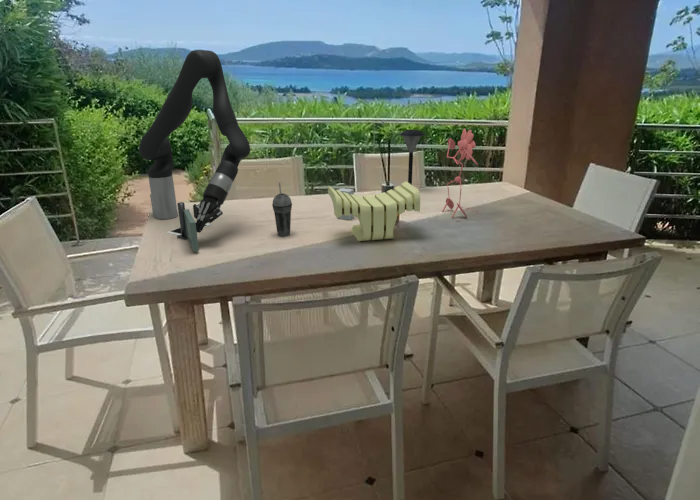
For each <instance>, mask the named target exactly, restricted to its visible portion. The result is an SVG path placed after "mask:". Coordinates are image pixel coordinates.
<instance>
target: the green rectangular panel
mask: <svg viewBox="0 0 700 500" xmlns="http://www.w3.org/2000/svg"><path fill="white" fill-rule="evenodd" d="M184 218H185V225H186V233H187V237H188V239H187V240H188V242H189V243H190V246H191V248H192V251H193V252H198V251H200V249H199V240H198V232H197V231H196V223H195V222H196V220H194V219H195V218H194V216H193V215H192V213H191V211H190V209H187V208H185V210H184Z"/></svg>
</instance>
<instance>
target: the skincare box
mask: <svg viewBox="0 0 700 500" xmlns="http://www.w3.org/2000/svg"><path fill="white" fill-rule="evenodd" d="M337 190H339V191H341V192H342V194H343V192H344V193H348V194H349V195H350V196H351V194H352V195H355V191H354V189H353V188H343V187H342V188H341V187H340V188H338V189H337ZM354 218H355V216H353V215H352V214H350V215H347V216H345V215H344V214H342V216H341V217H338V218H336V219H339V220H346V221H351V220H353V219H354Z"/></svg>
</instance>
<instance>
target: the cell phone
mask: <svg viewBox="0 0 700 500" xmlns="http://www.w3.org/2000/svg"><path fill="white" fill-rule="evenodd" d="M196 222H197V221H195V223H196ZM212 225H213V223H207V224H205V226H204V228H206V227H210V226H212ZM204 228H203V229H204ZM166 234H171V235H174V236H176V237H177V236H178V235H181V227H180V226H179V227H178V228H174V229H172V230H169V231H167V232H166Z"/></svg>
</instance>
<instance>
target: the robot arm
mask: <svg viewBox="0 0 700 500" xmlns="http://www.w3.org/2000/svg"><path fill="white" fill-rule="evenodd" d="M202 79H207V81H208V82H209V84H210V87H211V90H212V111H213V112H212V113H213V116H214V119H215V122H216V124H217V125H216V126H217V127H218V130H219V133H220V134H221V135H222V136H223V137H226V138H227V140H228V142H229V143H228V144H227V145H226V147H225V149H224V151H223V152H222V155H221V159H220V163H219V164H218V166H217V167H216V170H215V171H214V174H213V175H212V177H211V178H210V180H209V181H208V183H207V186H206V187H205V189H204V191H203V193H202V196H203V198H202V200H200V202H199V203H198V204H196V203H194V204H193V205H192V210H193V218H194V219H196V221H195V222H196V231H197V234H198V233H199V234H201V232H202V231H203V229H204V226H205V224H207V223H210V224H212V223H213V222H215V220H217V219H218V218H219V217H221V216H222V215H223V214H224V213H223V212H224V211H222V210H221V206H222V205H223V204H224V202H226V199H227V197H228V195H229V192H230V191H231V189H232V185H233V184H234V181H235V179H236V177H237V175H238V173H239V168H238V167H239V165H240V163H241V161H242V160H244V159H245V158H248V156H249V155H250V154H251V145H250V142H249V140H248V138H247V136H246V135H245V132H244V131H243V130H242V129H241V127H240V126H239V122H238V120H237V117H236V115H235V112H234V109H233V107H232V104H231V100H230V97H229V92H228V88H227V84H226V80H225V75H224V71H223V66H222V62H221V59H220V58H219V55H218V54H217V53H215V51H213V50H209V49H207V50H205V49H195V50H191V51H190V52H188V54H187V56H186V57H185V59H184V62H183V64H182V66H181V69H180V72H179V74H178V77H177V78H176V81H175V83H174V84H173V86H172V88H171V91H170V93H169V94H168V96H167V97H166V99H165V101H164V103H163V104H162V106H161V109H160V110H159V112H158V114H157V116H156V117H155V119H154V120H153V122H152V124H151V126H149V129H148V130H147V131H146V132H145V134H144V135H143V136H142V138H141V139H140V142H139V144H138V145H139V146H138V152H139V154H140V157H141V158H143V159H144V160H145V161H154V162H153V164H152V165H151V166H150V167H149V168H148V169H147V175H148V176H147V177H148V182H149V188H150V195H149V198H150V204H151V210H152V216H153V217H154V218H155V219H157V220H168V219H169V220H170V219H174V218H177V217H179V213H178V205H177V199H176V198H177V197H176V191H175V183H174V177H173V176H174V175H173V169H174V161H173V158H174V157H173V149H172V144H171V141H170V139H169V138H168V137H169V136H170V135H171V134H172V133H173V132H175V131H176V130H177V129H179V128H180V127H181V126H182V125H183V124H184V122H185V121H186V120H187V118H188V116H189V115H190V113H191V111H192V110H193V104H194V103H193V101H194V100H193V93H194V90H195V88H196V87H197V84H199V82H200V81H201V80H202Z"/></svg>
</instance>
